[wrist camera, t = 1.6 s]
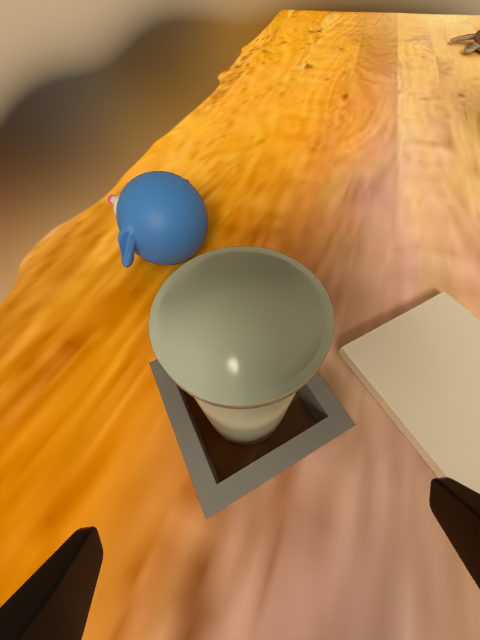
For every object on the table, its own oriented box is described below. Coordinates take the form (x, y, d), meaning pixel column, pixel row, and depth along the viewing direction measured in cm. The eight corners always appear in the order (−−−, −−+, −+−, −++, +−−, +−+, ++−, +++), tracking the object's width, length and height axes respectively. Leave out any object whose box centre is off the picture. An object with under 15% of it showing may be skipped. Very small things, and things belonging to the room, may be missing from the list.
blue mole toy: (157, 203, 34) (133, 130, 27) (234, 232, 31) (229, 158, 24) (87, 262, 29) (34, 190, 22) (170, 305, 26) (139, 237, 19)
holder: (341, 432, 19) (355, 424, 17) (212, 513, 17) (206, 519, 14) (268, 325, 24) (270, 306, 22) (160, 376, 22) (149, 362, 19)
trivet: (572, 411, 19) (586, 408, 18) (458, 503, 17) (469, 504, 16) (437, 297, 25) (444, 291, 24) (337, 352, 22) (341, 347, 22)
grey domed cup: (296, 442, 19) (363, 388, 8) (205, 455, 19) (141, 416, 8) (274, 336, 23) (295, 207, 12) (200, 345, 23) (156, 221, 12)
